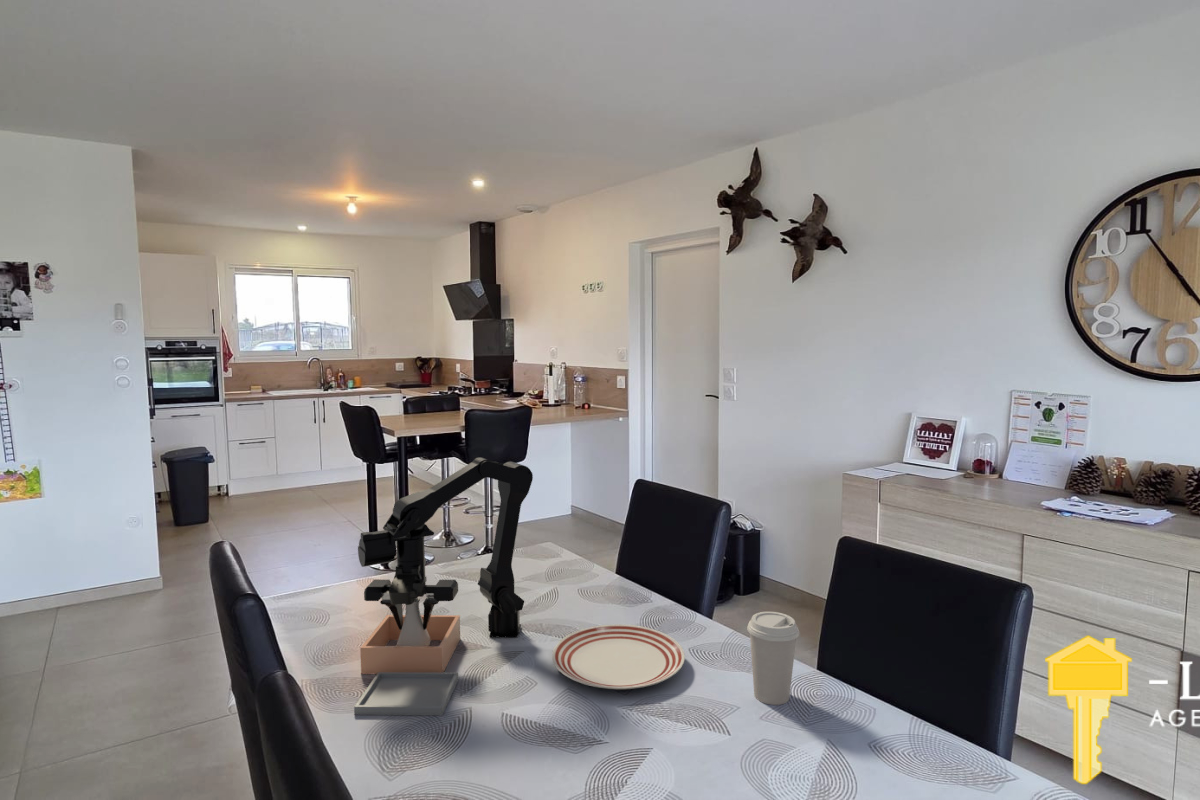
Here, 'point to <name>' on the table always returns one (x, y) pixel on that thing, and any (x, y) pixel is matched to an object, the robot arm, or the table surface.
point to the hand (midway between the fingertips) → (413, 628)
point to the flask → (413, 628)
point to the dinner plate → (618, 656)
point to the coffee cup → (772, 655)
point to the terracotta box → (410, 647)
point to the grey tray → (407, 694)
